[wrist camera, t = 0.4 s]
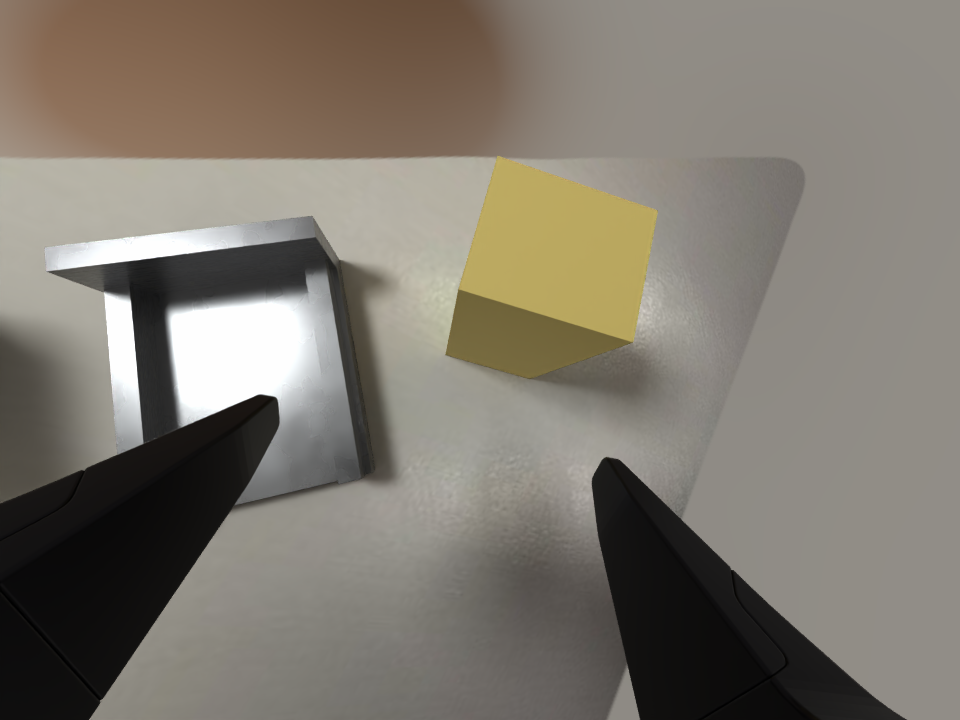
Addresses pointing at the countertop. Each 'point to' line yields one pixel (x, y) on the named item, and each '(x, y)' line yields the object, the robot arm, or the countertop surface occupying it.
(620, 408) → the countertop surface
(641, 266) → the block
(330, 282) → the grey metal tray
